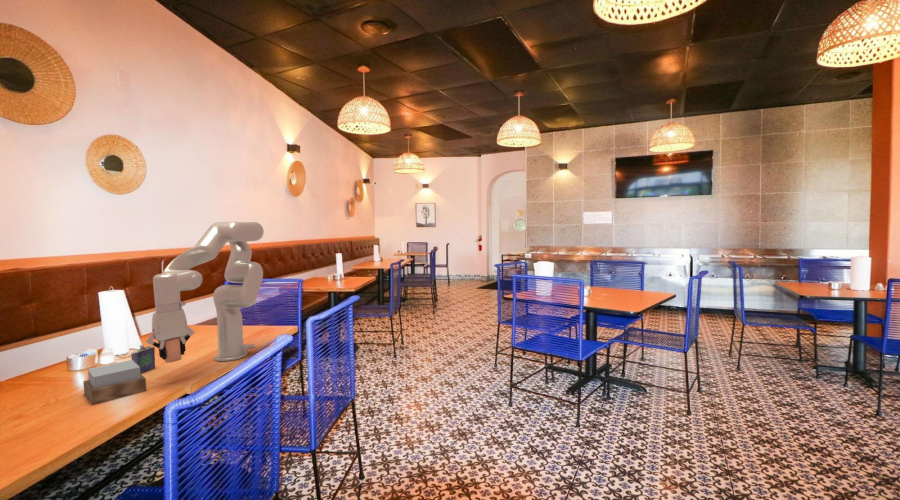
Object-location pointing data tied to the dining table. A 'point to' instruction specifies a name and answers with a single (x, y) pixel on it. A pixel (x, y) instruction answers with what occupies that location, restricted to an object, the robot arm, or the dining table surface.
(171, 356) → the brown rectangular block
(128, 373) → the top block
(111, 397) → the bottom block
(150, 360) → the dark panel with clover
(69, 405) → the dining table surface
